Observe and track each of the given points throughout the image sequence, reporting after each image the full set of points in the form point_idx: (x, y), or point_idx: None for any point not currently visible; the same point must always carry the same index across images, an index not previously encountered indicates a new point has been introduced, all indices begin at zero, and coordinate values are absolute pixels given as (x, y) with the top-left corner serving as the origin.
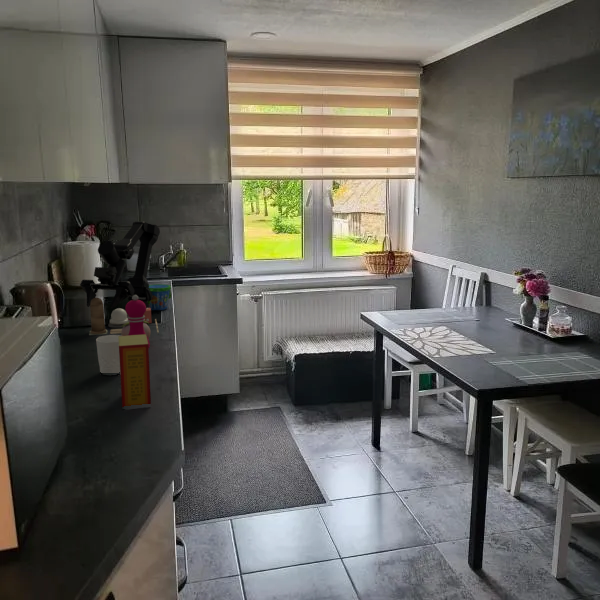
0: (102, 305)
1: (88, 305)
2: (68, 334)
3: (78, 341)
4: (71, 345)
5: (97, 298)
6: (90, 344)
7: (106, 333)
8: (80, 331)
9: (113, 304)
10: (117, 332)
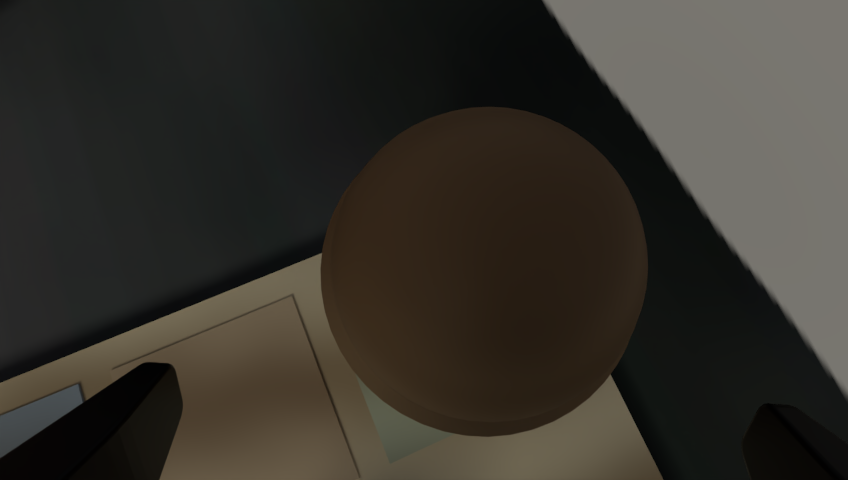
0: (327, 261)
1: (761, 435)
2: (751, 323)
3: None
4: (505, 6)
5: (444, 181)
6: (368, 48)
7: None
8: (712, 463)
9: (88, 412)
10: (230, 357)
